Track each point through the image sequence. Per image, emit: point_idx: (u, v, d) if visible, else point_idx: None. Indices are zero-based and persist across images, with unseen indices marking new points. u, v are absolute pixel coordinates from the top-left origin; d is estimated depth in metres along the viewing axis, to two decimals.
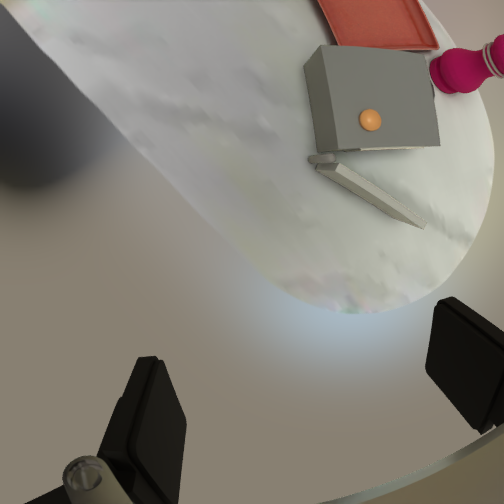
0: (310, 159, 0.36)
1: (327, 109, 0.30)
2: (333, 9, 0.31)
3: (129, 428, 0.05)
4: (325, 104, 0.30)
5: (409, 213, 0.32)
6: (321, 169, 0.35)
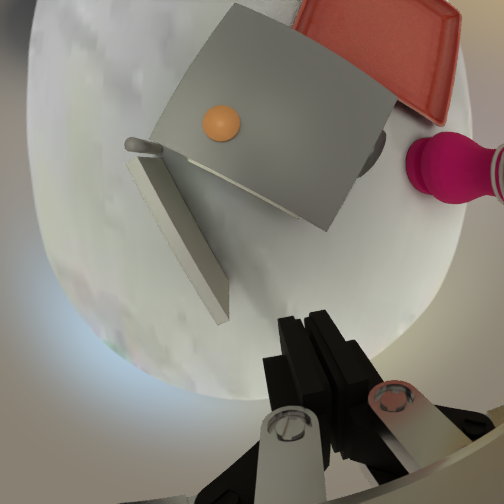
0: None
1: None
2: (329, 4, 0.23)
3: (316, 371, 0.07)
4: None
5: (204, 290, 0.22)
6: None
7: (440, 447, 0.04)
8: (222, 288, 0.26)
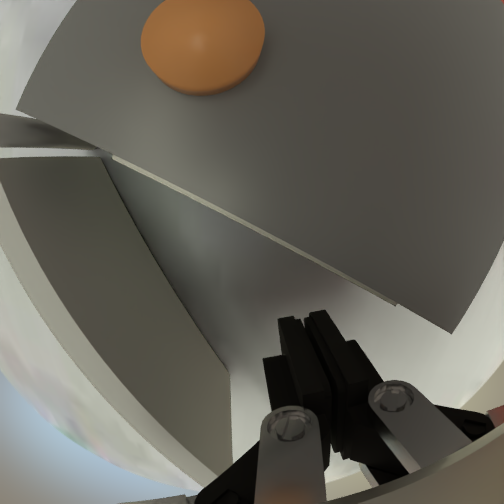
0: None
1: None
2: None
3: (316, 371, 0.07)
4: None
5: (179, 455, 0.08)
6: None
7: (440, 447, 0.04)
8: (218, 411, 0.12)
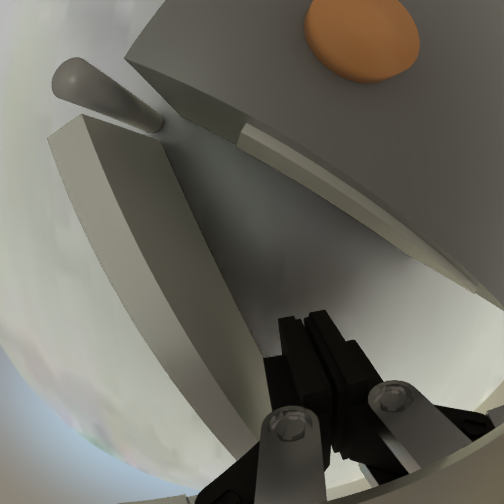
0: None
1: None
2: None
3: (317, 371, 0.07)
4: None
5: None
6: None
7: (440, 447, 0.04)
8: None
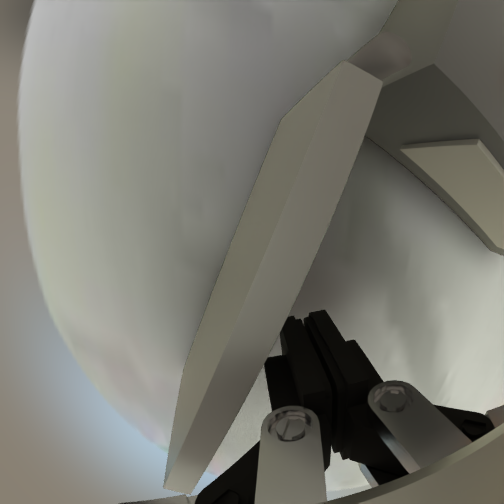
0: None
1: None
2: None
3: (317, 371, 0.07)
4: None
5: (200, 450, 0.07)
6: None
7: (441, 447, 0.04)
8: None
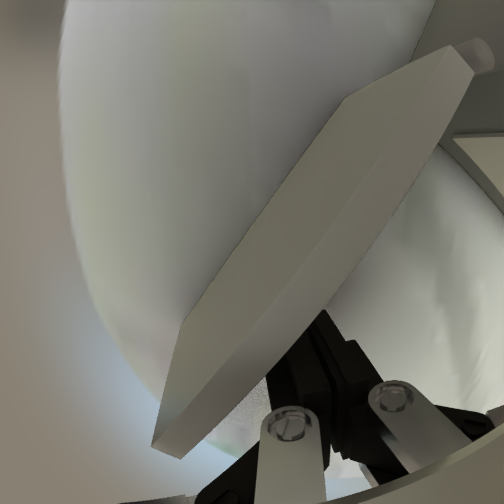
0: None
1: (490, 8, 0.06)
2: None
3: (316, 371, 0.07)
4: (487, 2, 0.06)
5: (220, 400, 0.07)
6: None
7: (440, 447, 0.04)
8: None
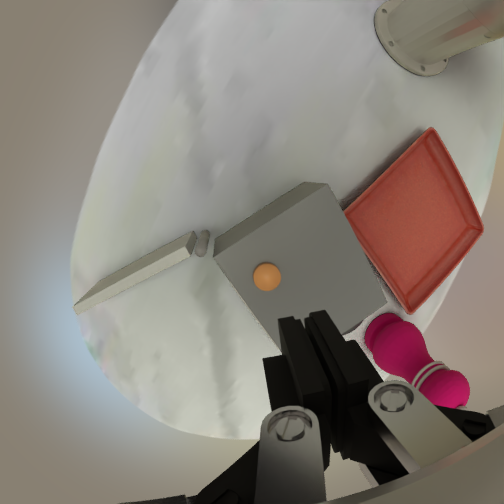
0: (206, 232, 0.33)
1: (255, 225, 0.28)
2: (390, 186, 0.34)
3: (317, 371, 0.07)
4: (261, 220, 0.28)
5: (95, 300, 0.27)
6: (191, 236, 0.31)
7: (440, 447, 0.04)
8: None
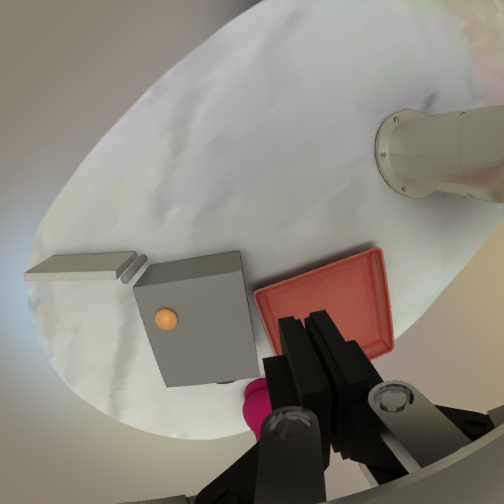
0: (143, 259, 0.37)
1: (175, 276, 0.33)
2: (315, 282, 0.41)
3: (316, 371, 0.07)
4: (181, 274, 0.33)
5: (41, 277, 0.30)
6: (129, 258, 0.36)
7: (440, 447, 0.04)
8: None
